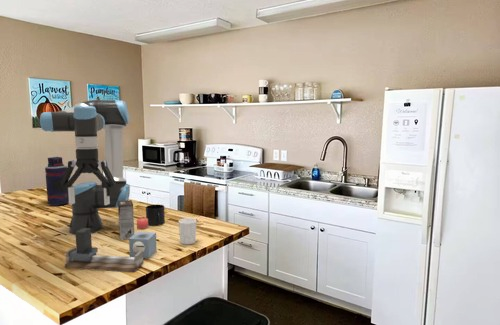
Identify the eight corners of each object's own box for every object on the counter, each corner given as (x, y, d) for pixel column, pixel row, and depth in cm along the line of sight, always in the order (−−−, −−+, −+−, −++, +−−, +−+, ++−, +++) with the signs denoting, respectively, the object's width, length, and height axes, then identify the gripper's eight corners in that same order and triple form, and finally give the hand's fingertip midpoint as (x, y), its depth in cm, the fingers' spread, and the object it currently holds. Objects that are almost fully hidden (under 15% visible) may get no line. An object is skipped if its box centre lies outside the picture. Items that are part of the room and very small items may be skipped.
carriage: (71, 262, 128) (69, 232, 126) (80, 255, 134) (79, 227, 132) (89, 263, 127) (87, 233, 126) (97, 256, 133) (96, 228, 132)
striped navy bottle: (73, 203, 219) (70, 157, 215) (54, 207, 209) (50, 159, 205) (61, 200, 227) (58, 155, 223) (42, 204, 217) (38, 157, 213)
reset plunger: (135, 229, 137) (134, 221, 137) (139, 226, 142) (139, 217, 141) (145, 230, 137) (145, 221, 136) (149, 226, 141) (149, 218, 141)
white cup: (180, 239, 158) (179, 218, 157) (197, 238, 159) (197, 217, 158) (178, 245, 151) (177, 223, 149) (196, 245, 151) (195, 223, 150)
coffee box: (119, 233, 165) (117, 200, 163) (133, 231, 168) (131, 199, 165) (119, 239, 157) (118, 205, 155) (134, 237, 159) (133, 204, 157)
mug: (150, 228, 173) (149, 211, 171) (144, 222, 183) (143, 205, 182) (168, 225, 177) (168, 208, 176) (161, 219, 188) (161, 203, 186)
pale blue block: (129, 258, 136) (128, 239, 135) (138, 250, 145) (137, 231, 144) (148, 259, 136) (147, 240, 135) (156, 251, 144) (156, 232, 143)
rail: (63, 267, 128) (62, 253, 127) (76, 259, 135) (76, 245, 135) (135, 272, 124) (135, 257, 124) (144, 263, 132) (144, 249, 132)
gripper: (47, 148, 124) (51, 205, 126) (115, 149, 123) (117, 207, 125) (60, 147, 131) (63, 201, 134) (123, 147, 130) (125, 202, 133)
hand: (89, 204), depth 129 cm, fingers open, 13 cm apart
